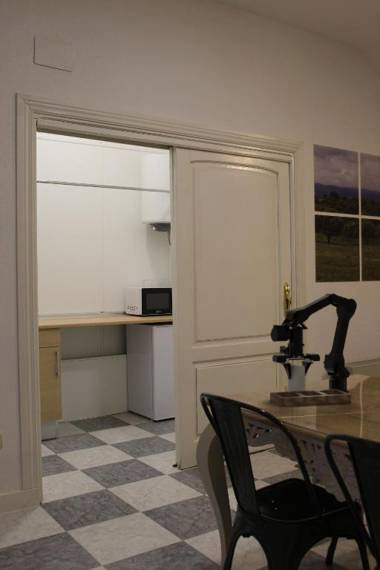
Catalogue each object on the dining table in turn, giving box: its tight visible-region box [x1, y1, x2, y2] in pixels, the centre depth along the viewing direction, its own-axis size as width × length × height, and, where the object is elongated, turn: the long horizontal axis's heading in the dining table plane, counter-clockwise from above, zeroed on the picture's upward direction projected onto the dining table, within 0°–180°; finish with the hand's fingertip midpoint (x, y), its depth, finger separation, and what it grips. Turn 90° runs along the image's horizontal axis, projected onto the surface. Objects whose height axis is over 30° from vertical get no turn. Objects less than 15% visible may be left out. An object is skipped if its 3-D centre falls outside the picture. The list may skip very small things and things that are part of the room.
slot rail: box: [269, 388, 352, 407], centre depth 223 cm, size 28×12×3 cm, turn 102°
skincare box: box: [287, 364, 307, 392], centre depth 236 cm, size 6×4×12 cm
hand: (296, 379), depth 236 cm, fingers closed on skincare box, 6 cm apart
